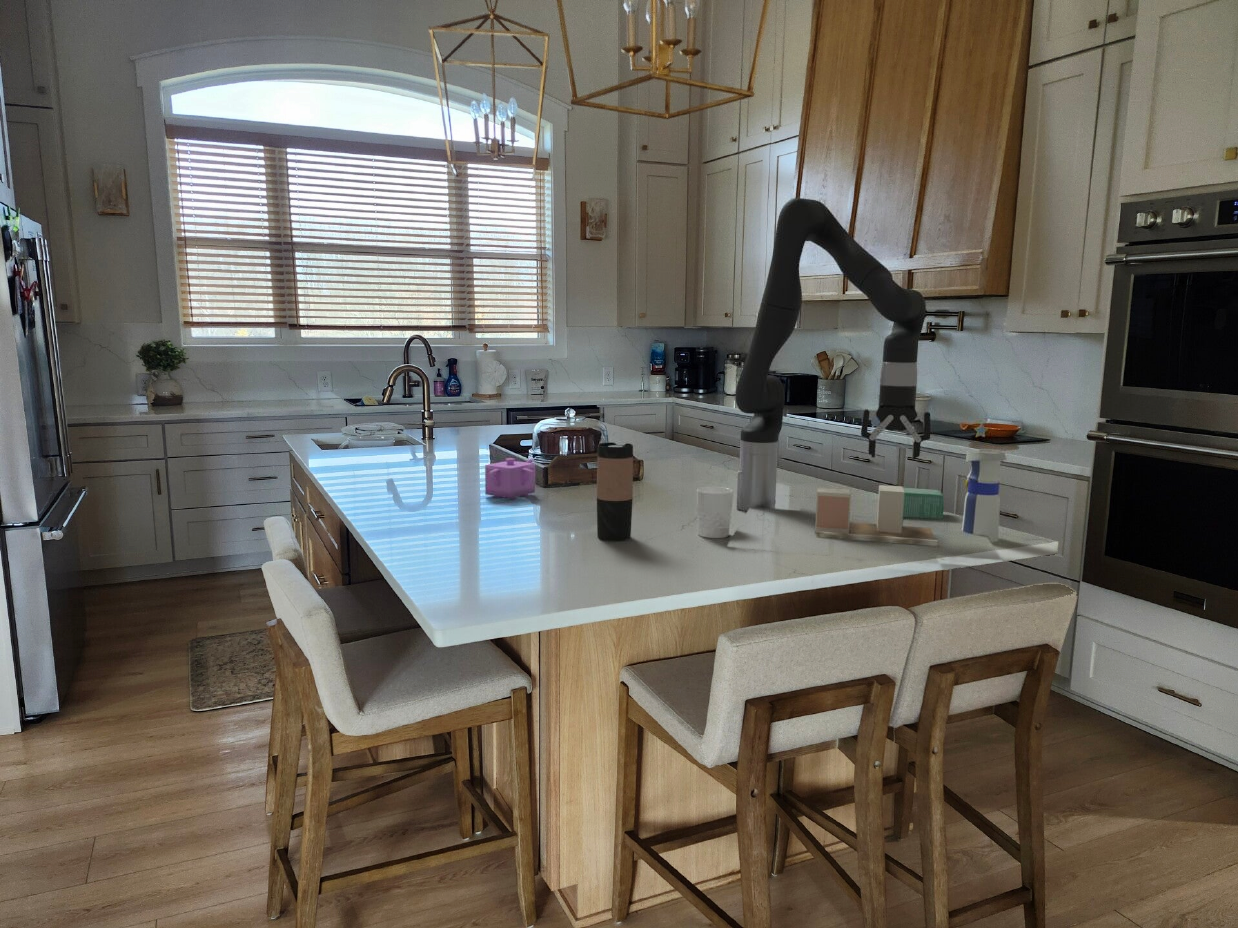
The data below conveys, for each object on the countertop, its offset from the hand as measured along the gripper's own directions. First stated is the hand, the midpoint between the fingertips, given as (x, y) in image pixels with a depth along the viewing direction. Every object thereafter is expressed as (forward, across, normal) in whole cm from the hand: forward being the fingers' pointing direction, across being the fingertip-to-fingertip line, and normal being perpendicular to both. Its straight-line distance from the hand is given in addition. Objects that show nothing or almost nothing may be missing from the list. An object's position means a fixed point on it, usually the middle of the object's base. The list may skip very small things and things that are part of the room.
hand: (893, 458), depth 189 cm
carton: (+16, 0, 0) cm, 16 cm away
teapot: (+17, -94, +14) cm, 97 cm away
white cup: (+17, -37, -12) cm, 43 cm away
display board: (+17, -3, -4) cm, 18 cm away
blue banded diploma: (+18, +19, +4) cm, 26 cm away
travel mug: (+17, -57, -21) cm, 63 cm away
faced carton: (+16, -12, -7) cm, 21 cm away
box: (+18, +6, +18) cm, 26 cm away
